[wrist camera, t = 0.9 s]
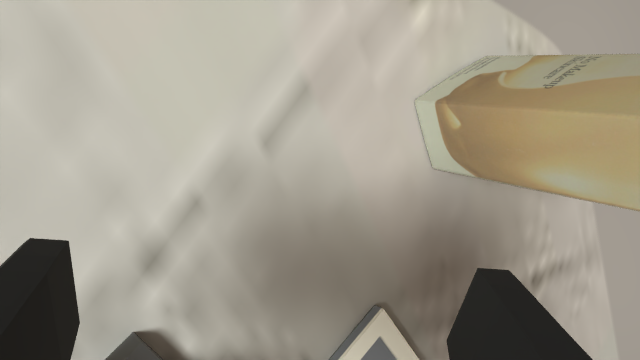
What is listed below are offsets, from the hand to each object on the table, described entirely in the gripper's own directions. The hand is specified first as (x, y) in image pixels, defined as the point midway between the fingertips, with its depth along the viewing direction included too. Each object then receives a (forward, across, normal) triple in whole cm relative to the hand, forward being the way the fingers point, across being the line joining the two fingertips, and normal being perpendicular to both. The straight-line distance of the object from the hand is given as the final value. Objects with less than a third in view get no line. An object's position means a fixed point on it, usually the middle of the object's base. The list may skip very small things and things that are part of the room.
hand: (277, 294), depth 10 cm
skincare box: (+20, -11, +6) cm, 24 cm away
